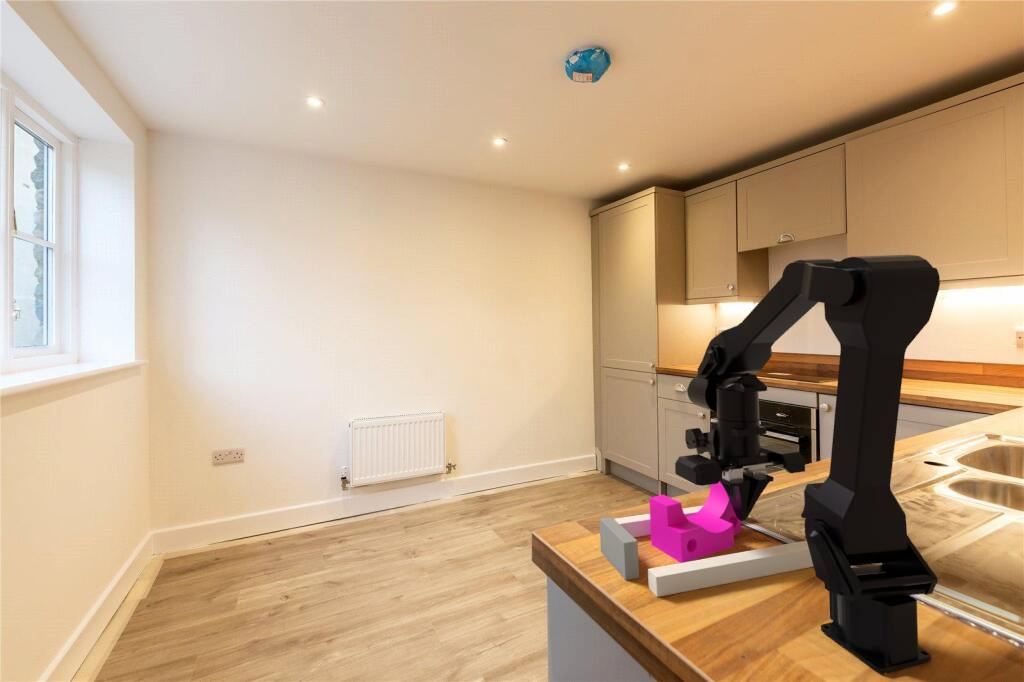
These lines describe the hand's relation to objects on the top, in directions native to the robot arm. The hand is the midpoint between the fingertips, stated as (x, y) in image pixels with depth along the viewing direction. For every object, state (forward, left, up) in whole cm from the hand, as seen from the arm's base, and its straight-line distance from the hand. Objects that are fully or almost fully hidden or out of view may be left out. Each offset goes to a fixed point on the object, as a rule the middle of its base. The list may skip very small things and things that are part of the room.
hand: (741, 519), depth 67 cm
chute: (0, +8, -3) cm, 9 cm away
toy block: (+2, +5, -4) cm, 7 cm away
